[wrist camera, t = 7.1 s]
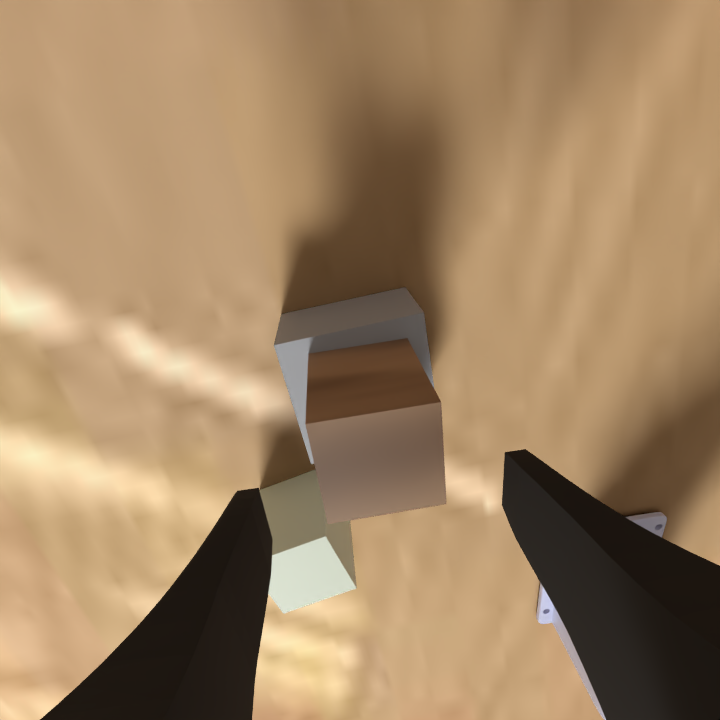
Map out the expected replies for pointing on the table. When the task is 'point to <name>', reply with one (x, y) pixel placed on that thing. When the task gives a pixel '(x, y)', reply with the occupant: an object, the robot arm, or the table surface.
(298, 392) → the grey base block
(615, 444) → the table surface
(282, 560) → the sage block
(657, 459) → the table surface
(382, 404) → the walnut block
